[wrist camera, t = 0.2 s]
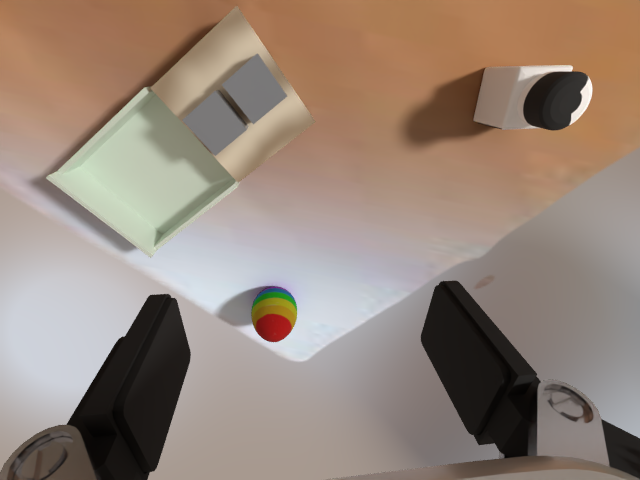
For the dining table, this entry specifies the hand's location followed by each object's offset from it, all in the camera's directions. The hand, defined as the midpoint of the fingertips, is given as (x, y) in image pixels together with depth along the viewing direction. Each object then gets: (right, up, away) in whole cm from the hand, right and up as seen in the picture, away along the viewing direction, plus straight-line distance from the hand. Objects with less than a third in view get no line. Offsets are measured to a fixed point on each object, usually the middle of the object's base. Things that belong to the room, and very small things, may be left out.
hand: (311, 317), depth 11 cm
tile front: (-7, +20, +24) cm, 32 cm away
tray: (-22, +13, +32) cm, 41 cm away
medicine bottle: (+27, +24, +32) cm, 48 cm away
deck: (-10, +21, +29) cm, 37 cm away
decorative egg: (-8, -8, +46) cm, 48 cm away
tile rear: (-12, +17, +25) cm, 32 cm away
